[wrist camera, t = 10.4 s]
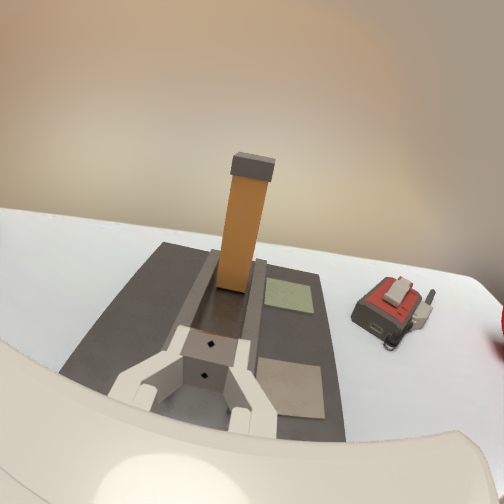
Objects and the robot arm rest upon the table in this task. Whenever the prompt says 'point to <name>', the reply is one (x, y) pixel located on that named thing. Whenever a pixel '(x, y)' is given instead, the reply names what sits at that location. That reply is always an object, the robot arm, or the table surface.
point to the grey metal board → (228, 324)
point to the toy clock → (502, 320)
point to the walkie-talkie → (392, 310)
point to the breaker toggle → (243, 218)
